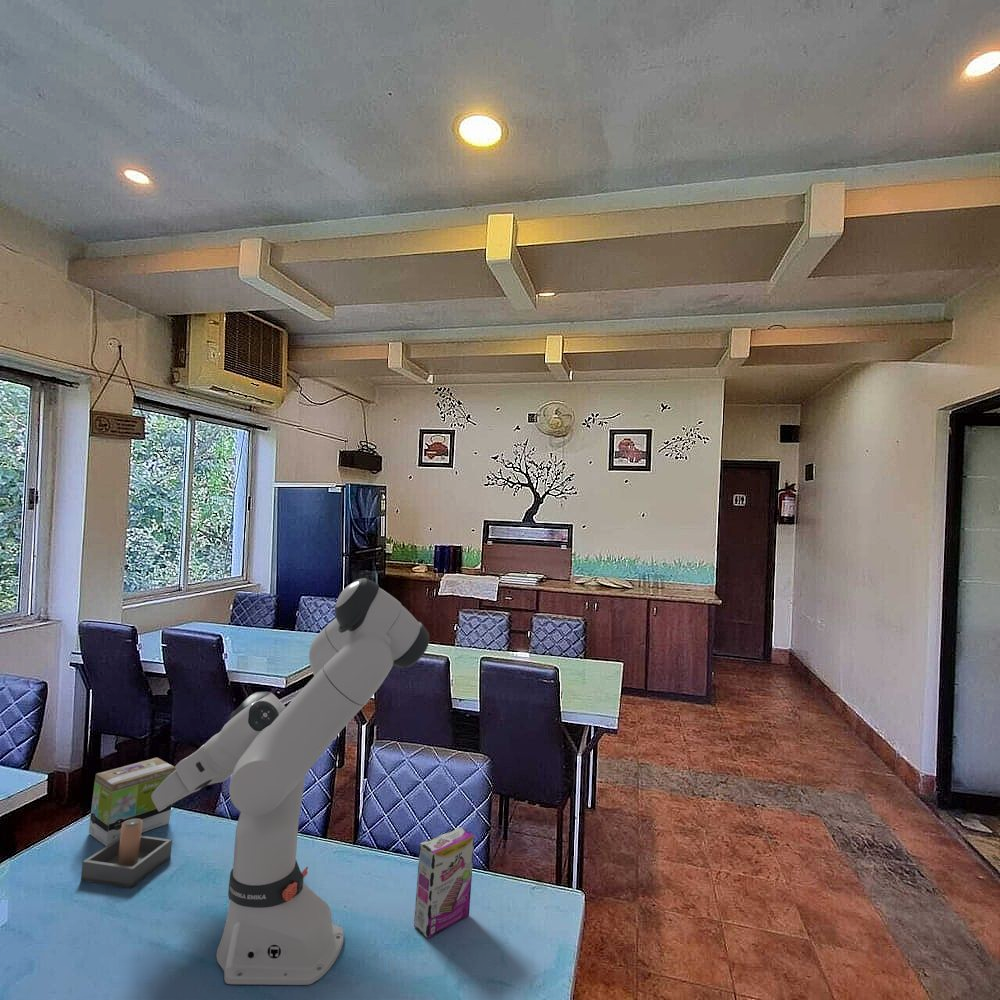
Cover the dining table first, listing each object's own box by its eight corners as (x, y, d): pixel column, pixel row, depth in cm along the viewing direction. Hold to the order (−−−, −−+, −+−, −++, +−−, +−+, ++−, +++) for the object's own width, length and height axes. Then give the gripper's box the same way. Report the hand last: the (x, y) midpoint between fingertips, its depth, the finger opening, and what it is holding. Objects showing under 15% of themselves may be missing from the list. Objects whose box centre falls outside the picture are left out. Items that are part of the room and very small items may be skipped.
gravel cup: (142, 860, 131) (146, 819, 131) (128, 870, 127) (133, 828, 127) (126, 858, 131) (130, 817, 132) (112, 867, 127) (117, 825, 128)
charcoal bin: (170, 857, 134) (172, 839, 134) (131, 888, 122) (132, 869, 122) (124, 850, 136) (125, 833, 136) (80, 880, 124) (82, 861, 124)
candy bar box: (428, 940, 111) (433, 853, 112) (413, 927, 115) (418, 842, 116) (471, 916, 119) (475, 834, 120) (455, 904, 123) (460, 825, 124)
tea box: (106, 848, 136) (112, 784, 137) (87, 834, 142) (93, 773, 143) (171, 823, 149) (176, 765, 150) (151, 811, 154) (156, 755, 155)
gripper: (243, 732, 135) (206, 767, 137) (172, 765, 116) (129, 805, 118) (258, 754, 134) (219, 789, 136) (188, 791, 114) (145, 832, 116)
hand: (177, 797), depth 127 cm, fingers open, 8 cm apart
